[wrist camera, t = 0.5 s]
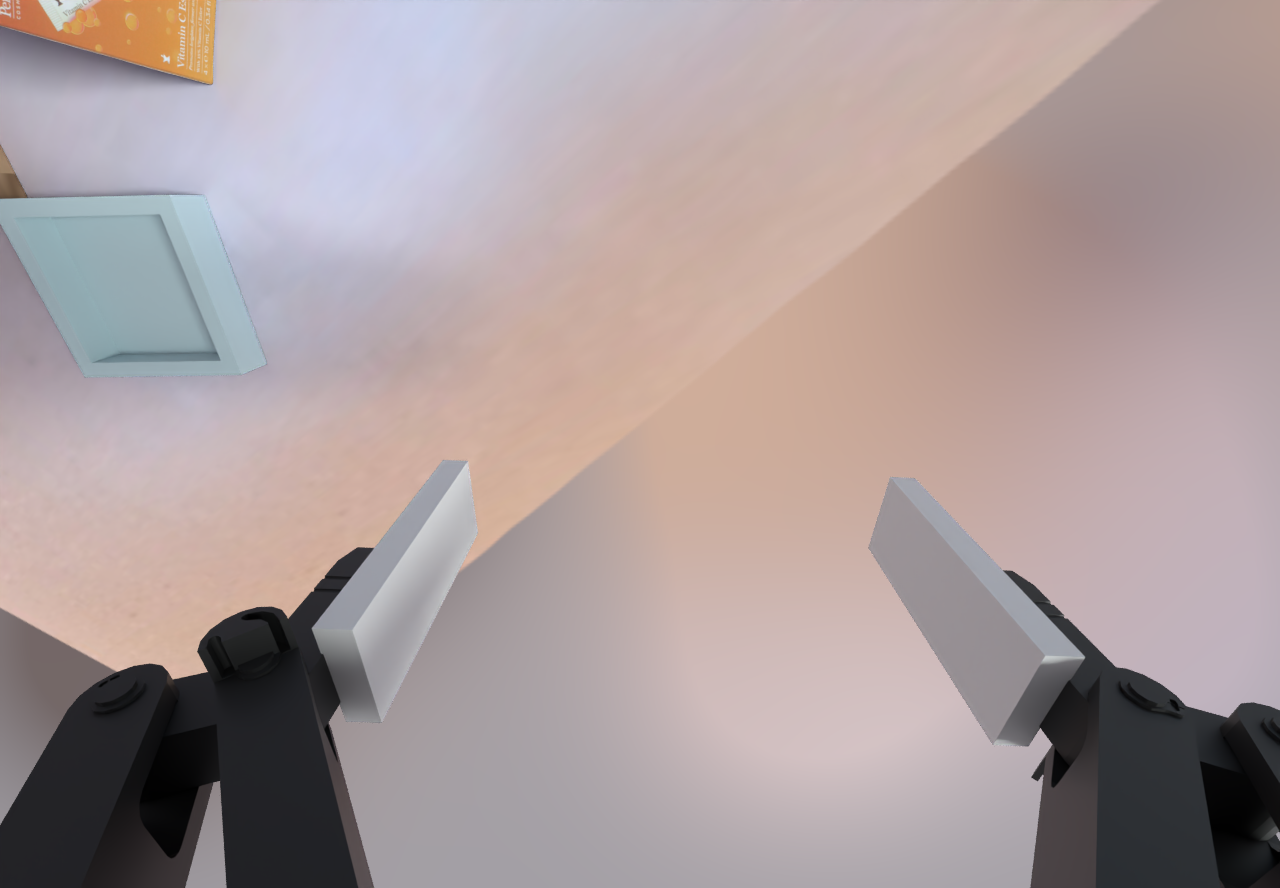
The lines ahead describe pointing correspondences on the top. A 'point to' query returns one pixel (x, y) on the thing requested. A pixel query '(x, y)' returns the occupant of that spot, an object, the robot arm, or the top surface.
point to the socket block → (9, 180)
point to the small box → (126, 30)
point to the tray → (135, 283)
